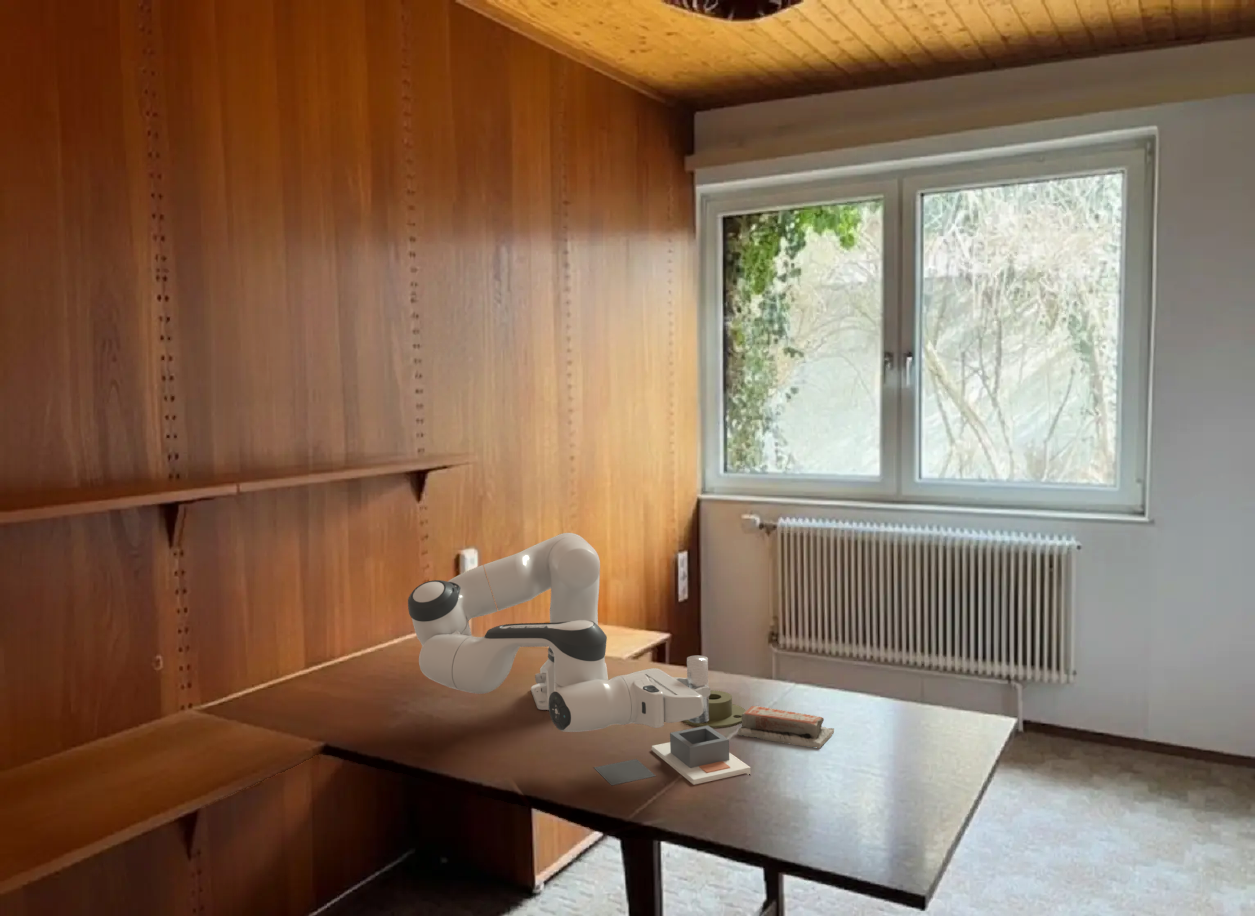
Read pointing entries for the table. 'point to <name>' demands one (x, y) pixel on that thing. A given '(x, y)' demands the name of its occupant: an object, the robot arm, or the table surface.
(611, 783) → the pad
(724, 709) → the flange
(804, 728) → the packaged product
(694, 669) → the barrel peg
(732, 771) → the mounting plate
